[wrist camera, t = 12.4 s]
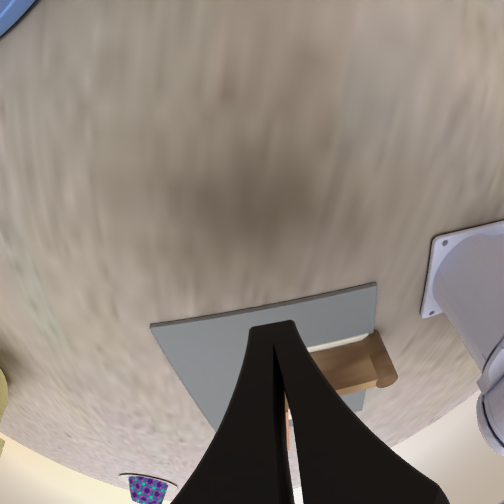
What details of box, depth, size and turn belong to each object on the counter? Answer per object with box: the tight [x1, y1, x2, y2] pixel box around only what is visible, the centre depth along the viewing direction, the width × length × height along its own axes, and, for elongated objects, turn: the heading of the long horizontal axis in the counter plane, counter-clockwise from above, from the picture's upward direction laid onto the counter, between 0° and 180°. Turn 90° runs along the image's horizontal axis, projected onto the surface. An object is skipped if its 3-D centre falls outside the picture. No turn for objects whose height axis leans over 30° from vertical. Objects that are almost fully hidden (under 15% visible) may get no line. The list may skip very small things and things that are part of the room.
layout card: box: [150, 282, 377, 432], centre depth 27 cm, size 17×19×1 cm
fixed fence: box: [285, 330, 398, 410], centre depth 23 cm, size 10×2×5 cm, turn 101°
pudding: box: [119, 475, 178, 504], centre depth 44 cm, size 12×12×5 cm
